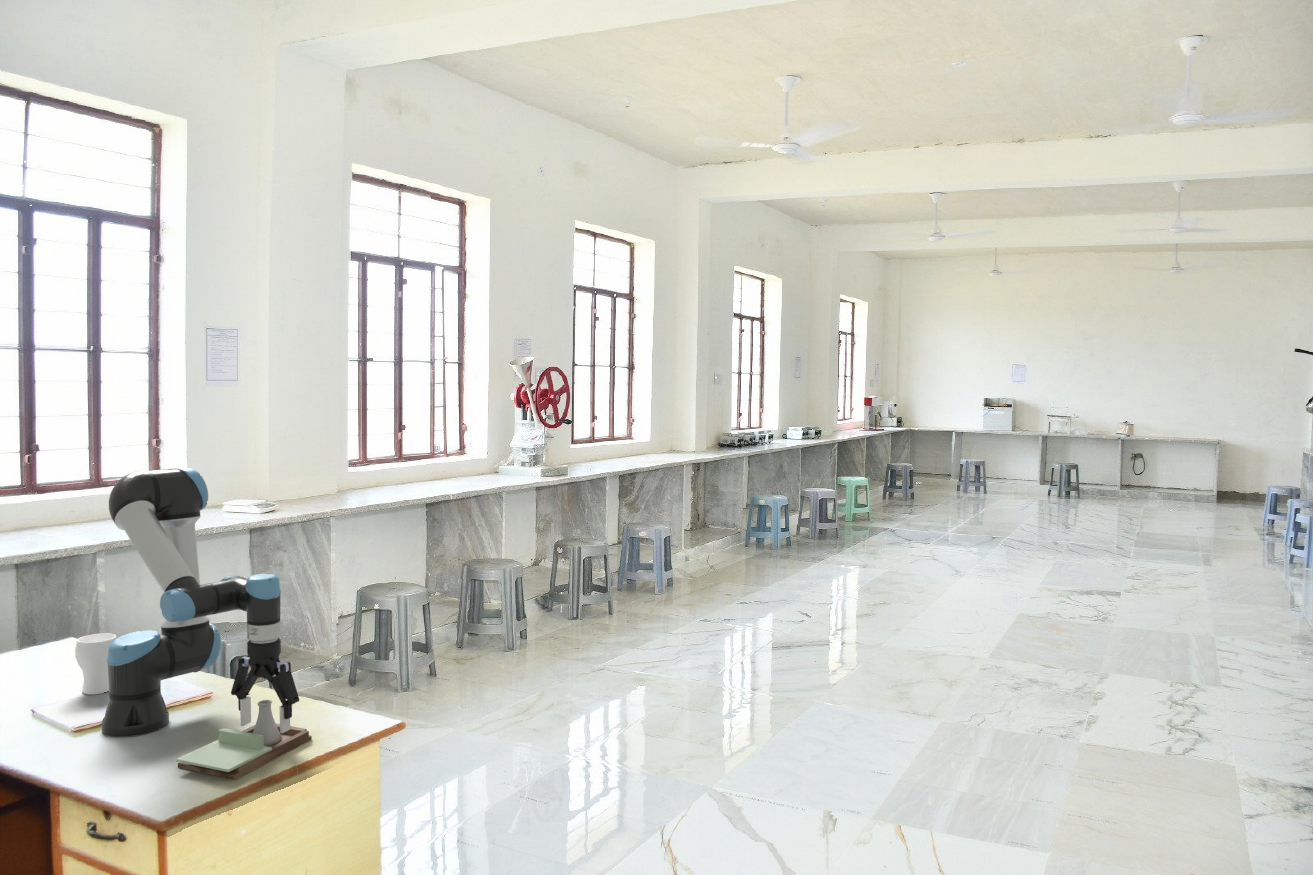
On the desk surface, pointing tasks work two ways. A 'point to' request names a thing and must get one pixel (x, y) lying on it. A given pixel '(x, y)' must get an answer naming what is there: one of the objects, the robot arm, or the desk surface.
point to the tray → (286, 744)
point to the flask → (267, 724)
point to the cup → (94, 661)
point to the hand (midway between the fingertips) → (265, 727)
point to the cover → (227, 751)
